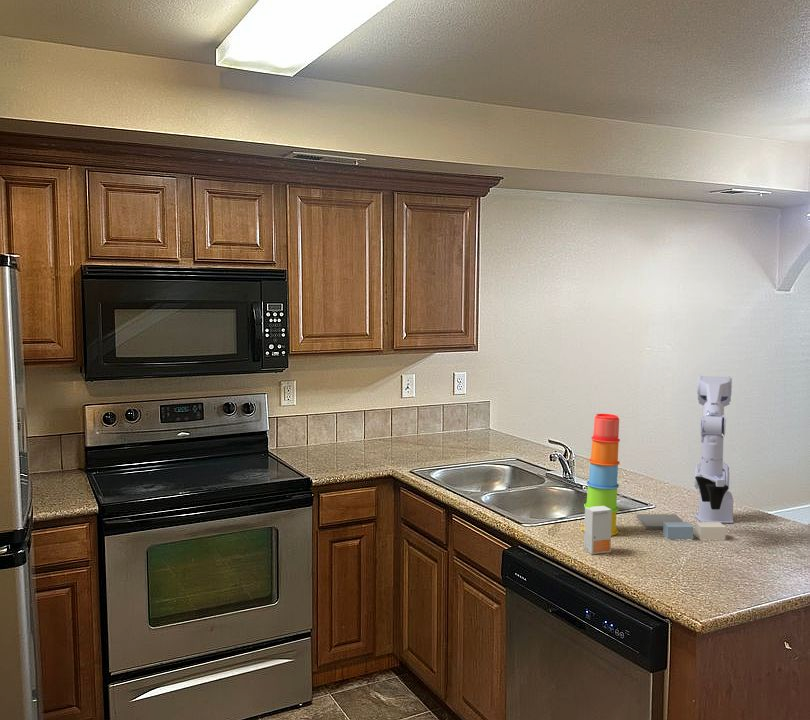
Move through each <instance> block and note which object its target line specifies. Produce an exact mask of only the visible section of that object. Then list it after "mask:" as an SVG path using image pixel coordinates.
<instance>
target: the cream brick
mask: <svg viewBox="0 0 810 720" xmlns="http://www.w3.org/2000/svg"><path fill="white" fill-rule="evenodd" d="M726 527H727V526H725V525H724V523H720V522H701V521H695V523H694V536H695V535H696V536H697V537H698V538H699V539H700V540H699V539H698V538H697V539H698V540H699V541H703V540H702V539H710V540H709V541H713V540H712V539H720V540H719V541H726V532H727V531H726V530H727V529H726ZM696 536H695V537H696Z"/></svg>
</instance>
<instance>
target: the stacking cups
mask: <svg viewBox="0 0 810 720" xmlns="http://www.w3.org/2000/svg"><path fill="white" fill-rule="evenodd" d="M593 420H594V423H593V434H592V436H591V437H590V439H591V440H592V441H591V453H590V458H589V459H588V462H589V472H588V473H589V474H588V480H587V481H586V485H587V491H586V492H587V493H586V503H584V504H583V506H584V509H585V508H587V507H594V506H605V507H607V508H609V509H611V510H612V519H611V537H612V536H616V535H618V533H619V530H618V528H617V512H618V511H619V510H620V508H619V506H617V499H618V488H619V487H620V485H619V483H618V477H619V476H618V473H619V472H618V471H619V465H620V461H619V443H620V442H621V439H620V438H619V432H620V431H619V430H620V418H619V416H618V415H617V414H611V413H597V414H595V416H594V419H593ZM584 527H585V524H584V525H582V527H581V529H582V531H583V532H584Z"/></svg>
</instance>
